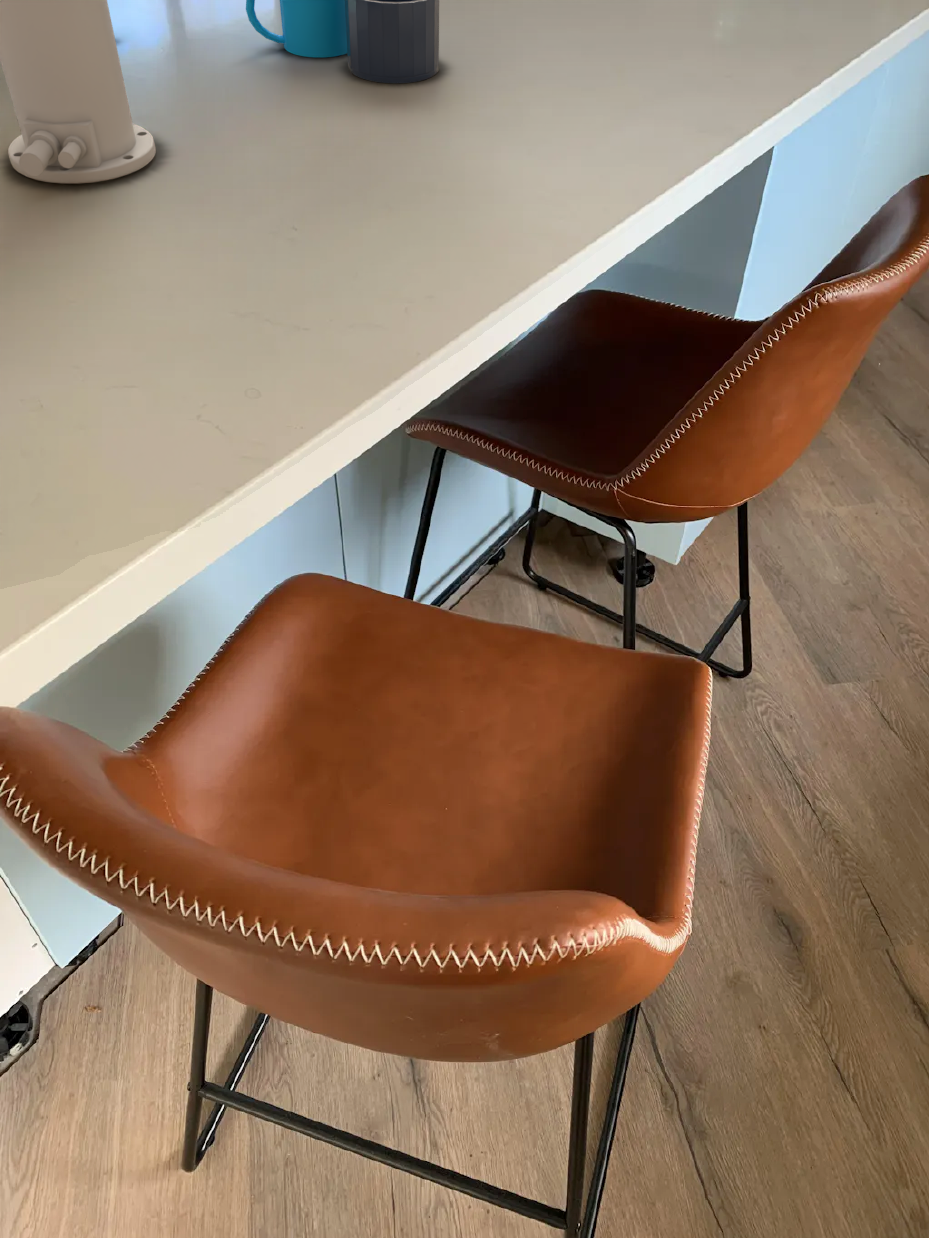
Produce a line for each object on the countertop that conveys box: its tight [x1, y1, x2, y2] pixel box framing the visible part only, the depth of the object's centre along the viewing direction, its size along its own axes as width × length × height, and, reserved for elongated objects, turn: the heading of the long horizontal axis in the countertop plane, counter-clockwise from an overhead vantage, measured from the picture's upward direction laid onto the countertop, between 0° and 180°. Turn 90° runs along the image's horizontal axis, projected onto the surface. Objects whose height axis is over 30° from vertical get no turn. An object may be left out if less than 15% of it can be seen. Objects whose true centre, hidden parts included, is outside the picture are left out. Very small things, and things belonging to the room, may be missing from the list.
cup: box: [345, 0, 440, 84], centre depth 103 cm, size 10×10×8 cm
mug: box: [245, 0, 347, 58], centre depth 107 cm, size 12×8×8 cm
